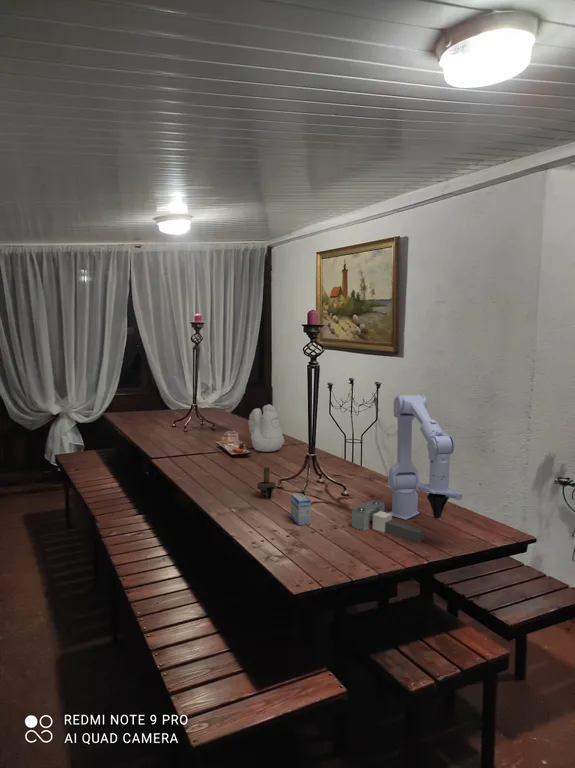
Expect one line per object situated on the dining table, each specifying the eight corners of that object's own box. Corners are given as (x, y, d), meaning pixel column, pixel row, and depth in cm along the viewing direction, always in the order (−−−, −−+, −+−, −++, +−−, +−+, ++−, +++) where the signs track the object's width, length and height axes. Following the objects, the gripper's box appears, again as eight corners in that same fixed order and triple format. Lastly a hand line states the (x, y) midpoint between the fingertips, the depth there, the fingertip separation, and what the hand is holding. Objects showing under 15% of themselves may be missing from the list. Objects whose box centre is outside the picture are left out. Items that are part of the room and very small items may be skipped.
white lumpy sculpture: (288, 453, 288) (289, 405, 285) (260, 456, 281) (260, 407, 278) (269, 442, 310) (269, 398, 307) (242, 445, 304) (242, 400, 301)
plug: (380, 525, 191) (380, 511, 190) (424, 539, 179) (425, 524, 179) (372, 528, 188) (372, 514, 187) (417, 543, 176) (418, 528, 176)
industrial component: (278, 499, 217) (278, 469, 215) (261, 501, 214) (261, 470, 212) (270, 492, 225) (270, 462, 224) (253, 494, 223) (253, 464, 221)
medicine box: (290, 518, 197) (290, 494, 196) (302, 516, 198) (302, 492, 197) (298, 526, 190) (298, 501, 188) (310, 524, 191) (311, 499, 190)
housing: (372, 517, 198) (372, 499, 197) (384, 521, 194) (384, 502, 193) (351, 527, 189) (352, 507, 188) (363, 531, 186) (364, 511, 185)
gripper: (411, 472, 173) (409, 514, 175) (455, 482, 164) (453, 526, 165) (423, 467, 179) (421, 509, 180) (466, 477, 169) (464, 520, 170)
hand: (437, 517), depth 173 cm, fingers closed
